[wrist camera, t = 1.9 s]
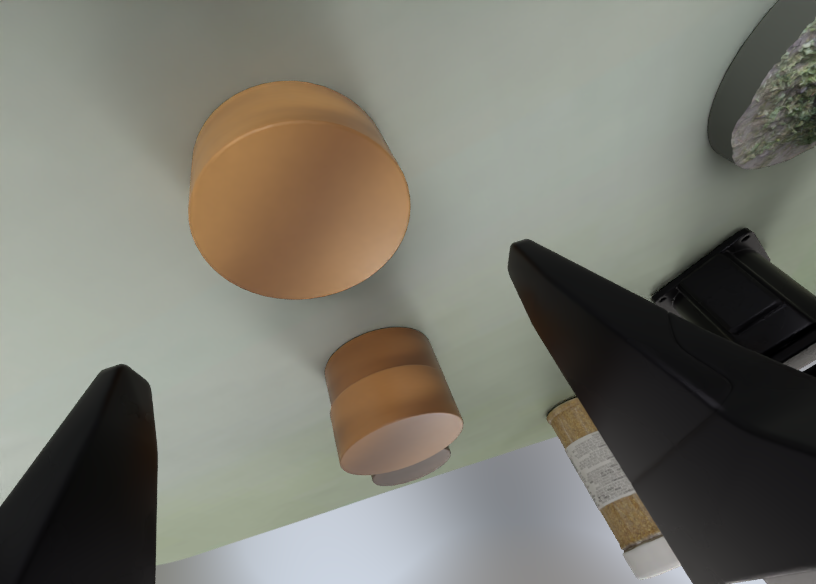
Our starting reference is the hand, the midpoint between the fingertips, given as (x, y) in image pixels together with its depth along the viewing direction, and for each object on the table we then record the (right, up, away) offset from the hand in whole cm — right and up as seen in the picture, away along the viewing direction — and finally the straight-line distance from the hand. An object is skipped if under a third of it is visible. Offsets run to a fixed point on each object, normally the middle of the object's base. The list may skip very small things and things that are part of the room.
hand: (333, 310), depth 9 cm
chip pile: (0, -3, +13) cm, 13 cm away
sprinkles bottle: (+17, -10, +29) cm, 35 cm away
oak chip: (-2, +4, +4) cm, 6 cm away
